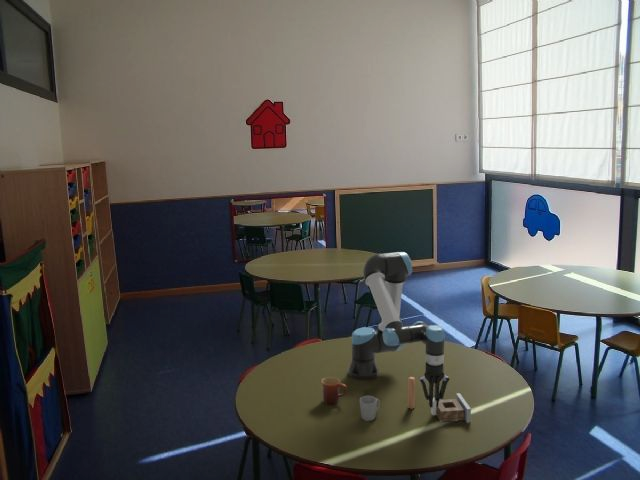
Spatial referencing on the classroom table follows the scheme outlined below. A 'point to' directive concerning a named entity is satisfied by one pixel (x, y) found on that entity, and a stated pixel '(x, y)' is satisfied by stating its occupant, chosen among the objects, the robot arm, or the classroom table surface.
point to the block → (449, 410)
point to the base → (464, 407)
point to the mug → (332, 390)
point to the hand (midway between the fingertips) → (433, 413)
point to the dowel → (411, 392)
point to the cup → (369, 407)
